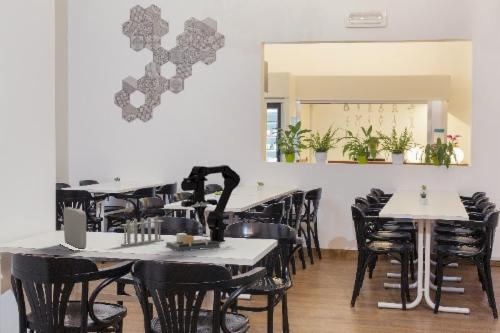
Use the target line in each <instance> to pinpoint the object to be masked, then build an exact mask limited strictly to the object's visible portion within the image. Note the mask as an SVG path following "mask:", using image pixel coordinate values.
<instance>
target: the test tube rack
mask: <svg viewBox="0 0 500 333" xmlns="http://www.w3.org/2000/svg"><path fill="white" fill-rule="evenodd" d="M162 222H165V221H164V220H161V219H159V218H158V216H155V217H154V220H152V217H147V221H145V219H144V218H140V222H138V219H137V218H135V219H133V222H132V223H131V220H130V219H126V223H123V224H121V226H122V227H123V229H124V230H123V231H124V232H123V233H124V238H123V239H124V242H123V243H120V246H122V245H124V247H128V245H130V246H136V244H137V245H144V243H145V244H151V243H158V242H159V243H160V242H165V239H164V238H161V223H162ZM145 224H147V240H146V239H145ZM152 224H154V239H153V238H152ZM138 225H140V240H141V241H140V240H138ZM131 226H133V242H131ZM126 243H128V244H126Z"/></svg>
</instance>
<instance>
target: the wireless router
mask: <svg viewBox="0 0 500 333" xmlns="http://www.w3.org/2000/svg"><path fill="white" fill-rule="evenodd" d="M86 214H87V213H86V212H85V210H81V209H78V208H75V207H70V206H68V207H64V208H63V231H64V232H63V233H64V242H65V243H67V244H69V245H71V246H73V247H75V248H78V249H85V248H86V246H87V215H86ZM90 248H91V249H92V250H93V248H92V247H90ZM77 251H80V250H75V251H74V252H77Z"/></svg>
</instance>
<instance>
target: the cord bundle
mask: <svg viewBox="0 0 500 333" xmlns="http://www.w3.org/2000/svg"><path fill="white" fill-rule="evenodd" d="M218 243H219V242H217V241H214V242H207V241H204V242H202V243H188V244H180V245H179V247H185V246H196V245H208V244H218Z"/></svg>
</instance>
